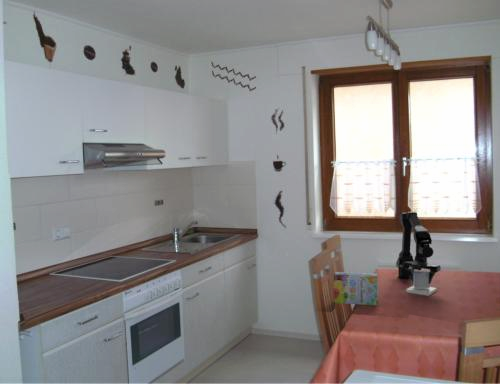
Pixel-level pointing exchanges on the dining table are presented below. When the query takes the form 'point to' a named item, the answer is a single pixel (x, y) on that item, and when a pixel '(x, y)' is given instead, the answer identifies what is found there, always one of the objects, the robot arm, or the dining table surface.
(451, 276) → the dining table surface
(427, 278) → the medicine box
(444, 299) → the dining table surface
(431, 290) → the board
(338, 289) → the snack box
